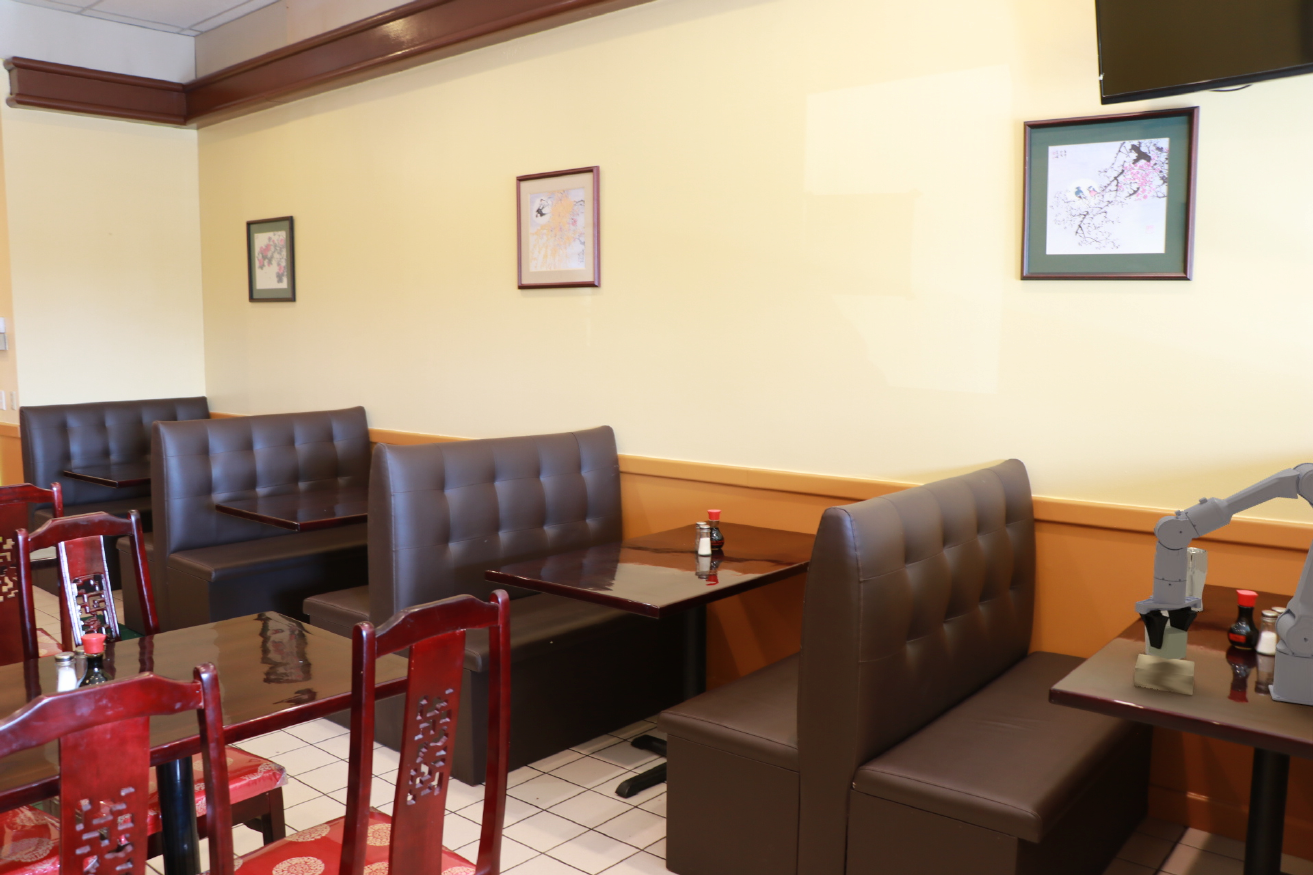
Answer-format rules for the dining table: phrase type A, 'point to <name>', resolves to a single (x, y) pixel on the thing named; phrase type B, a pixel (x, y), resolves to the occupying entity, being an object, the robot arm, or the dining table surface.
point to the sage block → (1172, 644)
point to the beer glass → (1196, 573)
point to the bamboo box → (1164, 674)
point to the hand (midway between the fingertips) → (1166, 646)
